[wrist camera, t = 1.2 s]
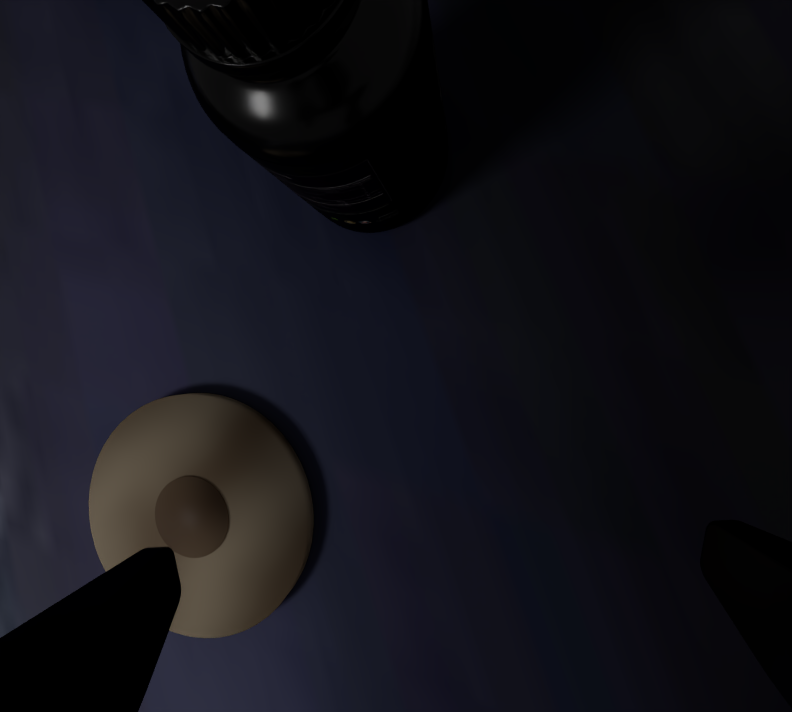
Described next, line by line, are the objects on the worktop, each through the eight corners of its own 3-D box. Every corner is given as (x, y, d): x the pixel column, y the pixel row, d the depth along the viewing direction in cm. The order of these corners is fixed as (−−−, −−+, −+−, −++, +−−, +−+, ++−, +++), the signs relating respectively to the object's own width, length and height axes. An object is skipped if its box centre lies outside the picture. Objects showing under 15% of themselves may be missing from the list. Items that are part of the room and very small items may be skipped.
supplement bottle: (315, 84, 19) (68, -322, 8) (460, 89, 18) (434, -388, 6) (296, 231, 20) (31, 59, 8) (437, 245, 18) (371, 68, 7)
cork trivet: (353, 462, 19) (347, 468, 19) (255, 672, 21) (245, 687, 20) (151, 353, 21) (137, 353, 20) (72, 551, 23) (56, 559, 22)
